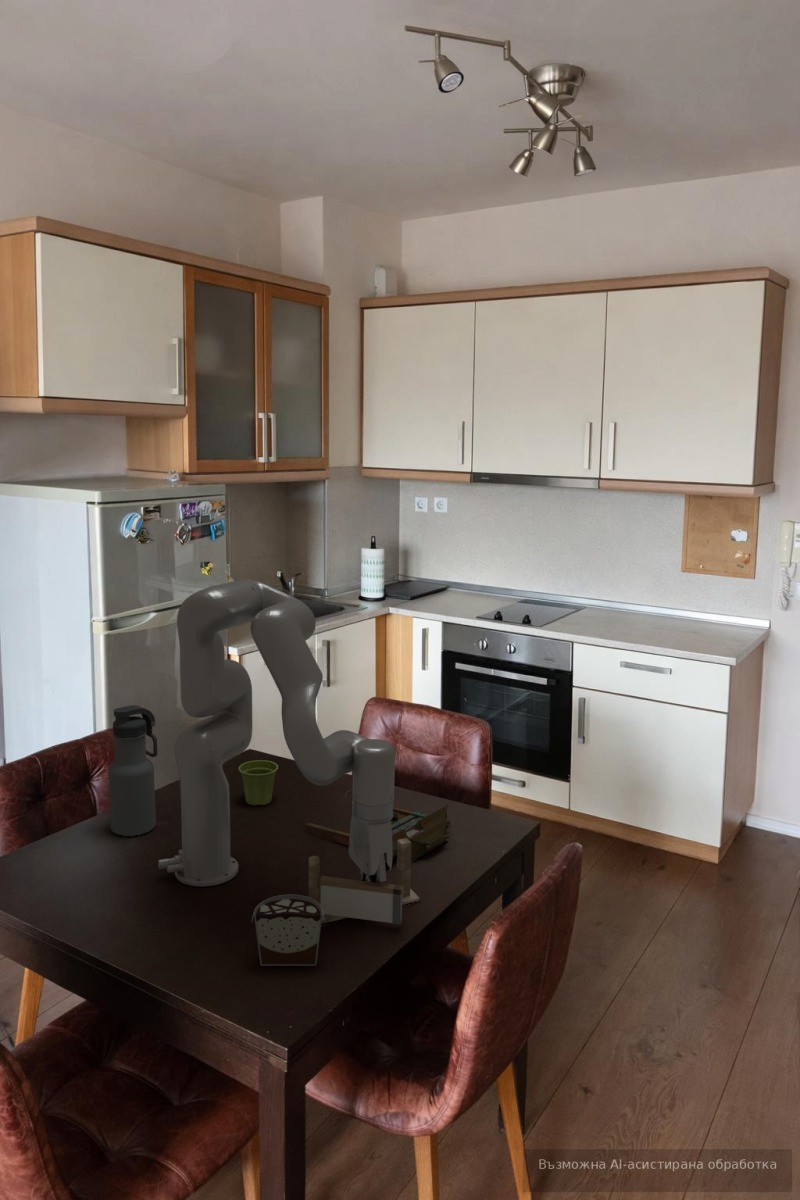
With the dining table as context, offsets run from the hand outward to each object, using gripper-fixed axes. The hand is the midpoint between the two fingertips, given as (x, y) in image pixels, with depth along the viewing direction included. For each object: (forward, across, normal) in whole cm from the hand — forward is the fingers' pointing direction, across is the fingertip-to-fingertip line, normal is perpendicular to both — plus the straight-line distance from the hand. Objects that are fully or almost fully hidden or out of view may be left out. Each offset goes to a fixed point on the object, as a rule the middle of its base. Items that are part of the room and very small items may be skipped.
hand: (370, 899), depth 171 cm
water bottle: (+4, -55, -34) cm, 65 cm away
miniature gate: (+4, -30, +16) cm, 34 cm away
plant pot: (+4, -59, -3) cm, 59 cm away
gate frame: (+3, -3, -2) cm, 4 cm away
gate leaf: (+2, +2, -3) cm, 4 cm away
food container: (+3, +7, -18) cm, 20 cm away
